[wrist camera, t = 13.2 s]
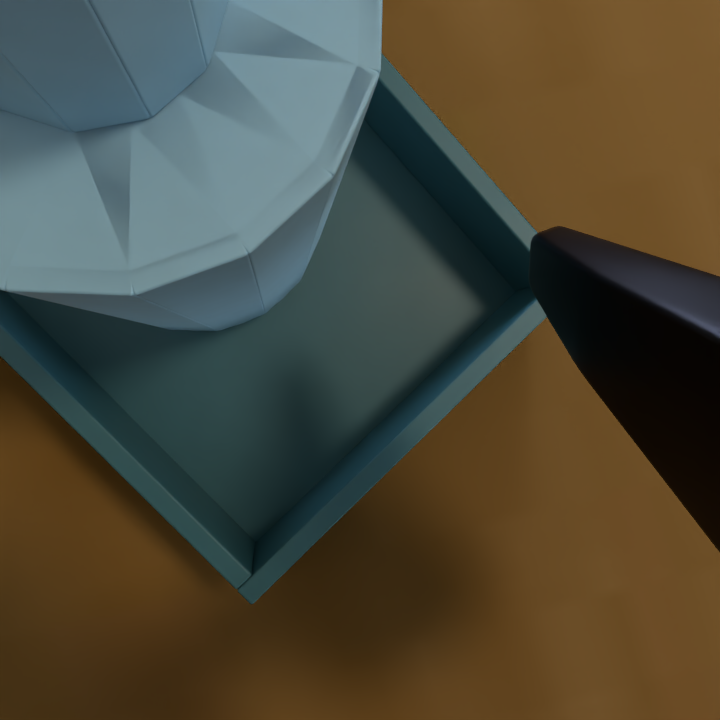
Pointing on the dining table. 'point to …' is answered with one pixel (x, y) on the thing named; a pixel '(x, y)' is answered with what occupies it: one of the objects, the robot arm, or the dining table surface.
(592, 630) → the dining table surface
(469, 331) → the teal open tray
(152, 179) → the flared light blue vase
